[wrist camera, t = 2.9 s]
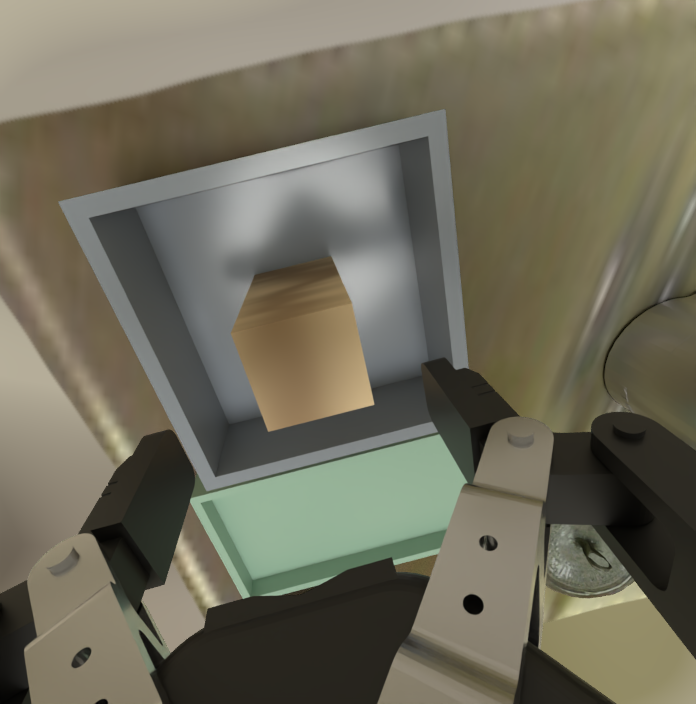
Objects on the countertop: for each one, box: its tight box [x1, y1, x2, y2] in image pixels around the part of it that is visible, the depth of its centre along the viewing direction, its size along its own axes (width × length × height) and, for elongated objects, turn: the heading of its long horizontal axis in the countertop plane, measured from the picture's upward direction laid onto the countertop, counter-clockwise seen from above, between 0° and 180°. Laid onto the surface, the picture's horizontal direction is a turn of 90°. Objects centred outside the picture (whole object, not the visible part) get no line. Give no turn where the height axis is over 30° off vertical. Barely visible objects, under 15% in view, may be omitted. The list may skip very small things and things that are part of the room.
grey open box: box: [58, 109, 469, 491], centre depth 21 cm, size 16×16×6 cm
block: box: [231, 256, 374, 432], centre depth 19 cm, size 4×4×9 cm
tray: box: [190, 432, 467, 599], centre depth 30 cm, size 22×12×2 cm, turn 102°
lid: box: [546, 524, 634, 598], centre depth 34 cm, size 11×10×5 cm
